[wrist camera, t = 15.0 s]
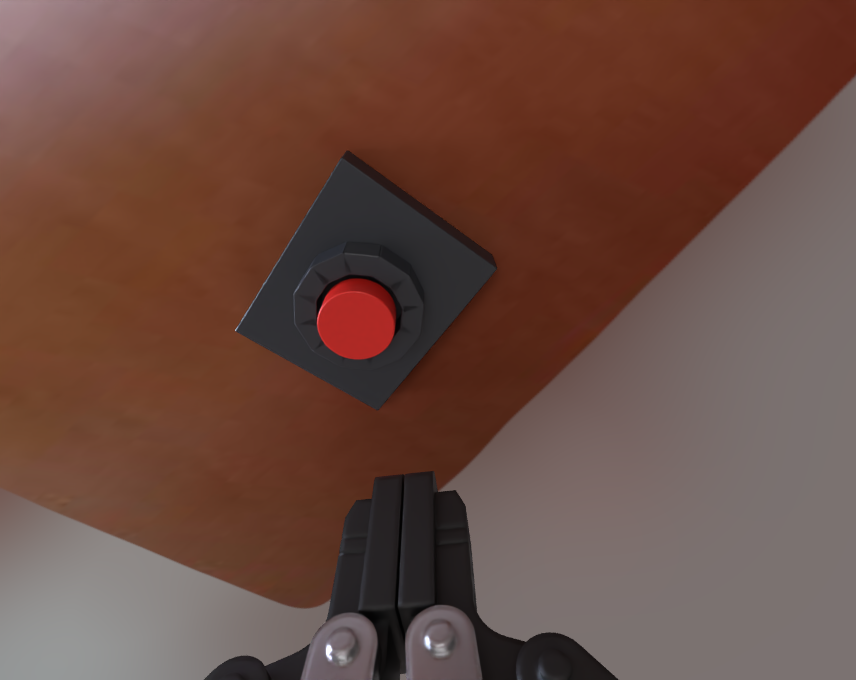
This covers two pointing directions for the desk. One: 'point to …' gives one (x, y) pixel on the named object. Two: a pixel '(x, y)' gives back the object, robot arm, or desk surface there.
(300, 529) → the desk surface
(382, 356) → the button base
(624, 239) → the desk surface
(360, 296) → the button
